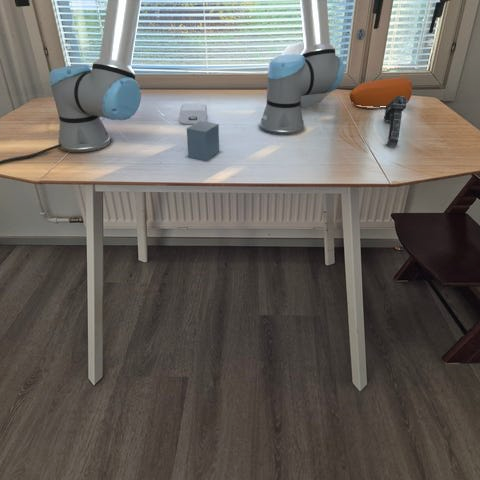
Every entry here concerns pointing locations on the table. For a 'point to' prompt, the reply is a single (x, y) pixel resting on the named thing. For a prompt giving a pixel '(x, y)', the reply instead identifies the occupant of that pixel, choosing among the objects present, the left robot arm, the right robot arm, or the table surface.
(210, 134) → the block
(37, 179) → the table surface
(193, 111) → the charger
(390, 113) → the futuristic handgun
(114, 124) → the table surface
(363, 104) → the clog
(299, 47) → the decorative sphere
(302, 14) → the right robot arm
